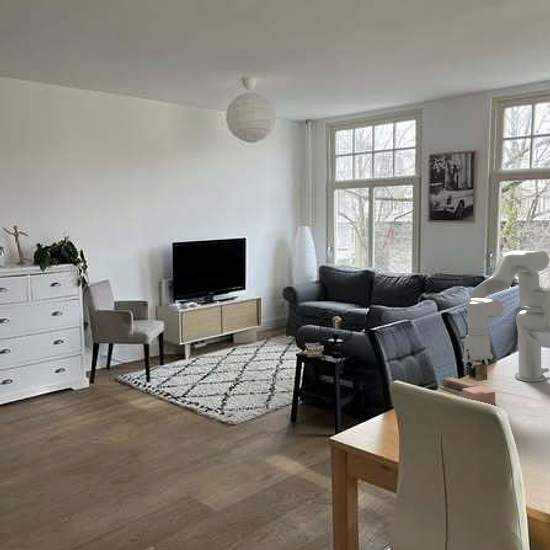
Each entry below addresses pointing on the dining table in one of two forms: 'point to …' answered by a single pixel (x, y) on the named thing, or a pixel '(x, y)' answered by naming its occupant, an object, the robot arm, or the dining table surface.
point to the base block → (479, 394)
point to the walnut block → (480, 372)
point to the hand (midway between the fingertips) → (477, 375)
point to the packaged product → (455, 385)
